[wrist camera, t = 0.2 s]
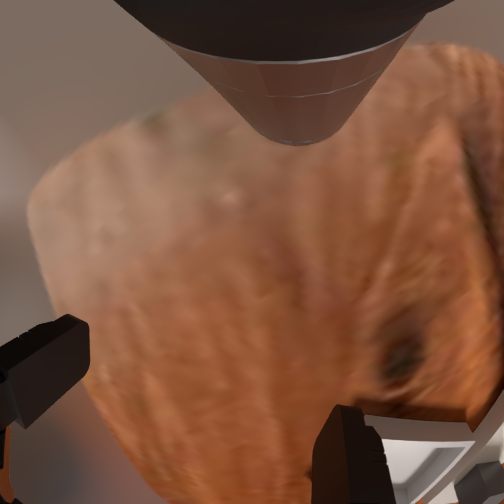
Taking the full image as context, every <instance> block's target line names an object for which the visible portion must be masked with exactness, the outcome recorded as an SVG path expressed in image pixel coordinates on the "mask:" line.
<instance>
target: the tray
mask: <svg viewBox="0 0 504 504" xmlns="http://www.w3.org/2000/svg"><path fill="white" fill-rule="evenodd" d="M364 420H365V425H368V426H373V427H374V429H375V430H376V431H377V433H378V434H379V435H380V437H381V438H382V442H383V446H384V450H385V452H384V454H386V458H387V465H388V467H389V471H390V476H391V480H392V485H393V490H394V494H395V499H396V504H415V503H416V502H417V501H418V500H419V499H421V498H422V497H423V496H424V495H425V494H426V493H427V492H428V491H429V490H430V489H432V488H433V487H434V486H435V485H436V484H437V483H438V482H439V481H440V480H441V479H442V478H443V477H444V476H445V475H446V474H447V473H448V472H449V471H450V470H451V469H452V468H453V466H454V465H455V464H456V463H457V462H458V461H459V460H460V459H461V458H462V457H463V456H464V454H465V453H466V452H467V451H468V450H469V449H470V447H471V446H472V445H473V444H474V443H475V441H476V440H475V438H474V436H473V434H472V432H471V430H470V428H469V426H468V424H467V422H437V421H421V420H409V419H399V418H389V417H381V416H373V415H366V414H365V416H364Z"/></svg>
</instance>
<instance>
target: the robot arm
mask: <svg viewBox="0 0 504 504" xmlns="http://www.w3.org/2000/svg"><path fill="white" fill-rule="evenodd" d="M114 1H115V2H116V3H118V4H119V5H120V6H121V7H122V8H123V9H124V10H126V11H127V12H128V13H129V14H131V15H132V16H133V17H134V18H135V19H137V20H138V21H139V22H140V23H142V24H143V25H144V26H145V27H146V28H148V29H149V30H150V31H152V32H153V33H154V34H156V35H157V36H158V37H159V38H160V39H161V40H163V41H164V42H165V43H166V44H167V45H168V46H169V47H170V48H172V49H173V50H174V51H175V52H176V53H177V54H178V55H179V56H181V57H182V58H183V59H184V60H185V61H186V62H187V63H188V64H189V65H190V66H191V67H192V68H194V69H195V70H196V71H197V72H198V73H199V74H200V75H201V76H202V77H203V78H204V79H205V80H206V81H207V82H209V83H210V84H211V85H212V86H213V87H214V88H215V89H216V90H217V91H218V92H219V93H220V94H221V95H222V96H223V97H224V98H225V99H226V100H227V101H228V102H229V103H230V104H231V105H232V106H233V107H234V108H235V110H236V111H237V112H238V113H239V114H240V115H241V116H242V117H243V118H244V119H245V120H246V121H247V122H248V123H249V124H250V125H251V126H252V127H253V128H254V129H255V130H256V131H257V132H259V133H260V134H261V135H263V136H265V137H266V138H268V139H270V140H272V141H275V142H278V143H281V144H286V145H293V146H301V145H310V144H314V143H318V142H321V141H323V140H325V139H327V138H329V137H331V136H332V135H333V134H334V133H336V132H337V131H338V130H339V129H340V128H341V127H342V126H343V124H344V123H345V122H346V121H347V119H348V118H349V117H350V116H351V115H352V113H353V112H354V111H355V109H356V108H357V107H358V105H359V104H360V103H361V101H362V100H363V99H364V97H365V96H366V95H367V93H368V92H369V91H370V89H371V88H372V87H373V85H374V84H375V83H376V81H377V80H378V79H379V77H380V76H381V75H382V73H383V72H384V71H385V69H386V68H387V67H388V65H389V64H390V63H391V61H392V60H393V59H394V57H395V55H396V54H397V53H398V51H399V50H400V49H401V47H402V46H403V45H404V43H405V42H406V41H407V39H408V38H409V37H410V35H411V34H412V33H413V31H414V30H415V28H416V27H417V26H418V25H419V23H420V22H421V20H422V19H423V17H424V16H425V15H426V14H427V13H428V12H431V11H433V10H436V9H438V8H440V7H443V6H445V5H447V4H449V3H450V2H452V1H454V0H114ZM89 365H90V339H89V325H88V323H87V322H85V321H83V320H81V319H78V318H76V317H74V316H72V315H70V314H66V315H64V316H62V317H60V318H58V319H57V320H55V321H51V322H47V323H42V324H39V325H37V326H35V327H33V328H32V329H30V330H28V332H25V333H23V334H21V335H20V336H19V338H18V337H16V338H14V339H13V340H11V341H9V342H7V343H6V344H4V345H2V346H1V347H0V504H23V503H21V502H20V501H19V500H18V499H16V498H15V496H14V491H13V488H12V486H11V483H10V478H9V454H10V437H11V428H10V424H11V423H12V422H13V421H16V422H17V423H18V424H19V425H21V426H22V427H23V428H24V429H27V428H28V427H29V426H30V425H31V424H32V423H33V422H34V421H35V420H36V419H37V418H39V417H40V416H41V415H42V414H43V413H44V412H45V411H46V410H47V409H48V408H50V406H52V405H53V404H54V403H55V402H56V401H57V400H58V399H59V398H61V397H62V396H63V395H64V394H65V393H66V392H67V391H68V390H69V389H70V388H72V387H73V386H74V385H75V384H76V383H77V382H78V381H79V380H81V379H82V378H83V377H84V376H85V374H86V373H87V371H88V369H89ZM384 452H385V450H384V446H383V442H382V438H381V437H380V435H379V434H378V433H377V431H376V430H375V429H374V427H373V426H368V425H365V420H364V416H363V412H362V409H361V408H357V407H350V406H345V405H339V404H337V405H336V406H335V407H334V408H333V410H332V412H331V413H330V415H329V417H328V419H327V421H326V423H325V425H324V426H323V428H322V430H321V432H320V433H319V435H318V437H317V439H316V442H315V444H314V448H313V454H312V497H311V504H396V499H395V494H394V490H393V485H392V480H391V476H390V471H389V467H388V465H387V458H386V454H384Z"/></svg>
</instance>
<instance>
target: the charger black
mask: <svg viewBox="0 0 504 504" xmlns="http://www.w3.org/2000/svg"><path fill="white" fill-rule="evenodd" d="M454 489H455V492H456V496H457V499H458V502H459V504H498V503H500V502H501V501H502V500H503V499H504V469H503V467H502V465H501V463H500V461H493V462H487V463H479V464H476V465H475V466H474V467H473V468H472V469H471V470H470V471H469V472H468V473H467V474H466V475H465V476H464V477H463V478H462V479H461V480H460V481H459V482H458V483H457V484H456V485H455V486H454Z"/></svg>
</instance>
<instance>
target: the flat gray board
mask: <svg viewBox="0 0 504 504" xmlns="http://www.w3.org/2000/svg"><path fill="white" fill-rule="evenodd" d="M472 434H473V436H474V438H475V440H476V441H475V443H474V444H473V445H472V446H471V447H470V449H469V450H468V451H467V452H466V453H465V454H464V456H463V457H462V458H461V459H460V460H459V461H458V462H457V463H456V464H455V465H454V466H453V468H452V469H451V470H450V471H449V472H448V473H447V474H446V475H445V476H444V477H443V478H442V479H441V480H440V481H439V482H438V483H437V484H436V485H435V486H434V487H433V488H432V489H430V490H429V491H428V492H427V493H426V494H425V495H424V496H423V497H422V500H423V504H448V503H454V502H458V499H457V496H456V492H455V489H454V486H455V485H456V484H457V483H458V482H459V481H460V480H461V479H462V478H463V477H464V476H465V475H466V474H467V473H468V472H469V471H470V470H471V469H472V468H473V467H474V466H475V465H476V464H479V463H487V462H493V461H500V463H501V465H502V463H503V462H504V390H503V391H502V393H501V394H500V396H499V397H498V399H497V400H496V402H495V403H494V405H493V406H492V408H491V409H490V411H489V412H488V413H487V415H486V416H485V418H484V419H483V420H482V422H481V423H480V424H479V426H478V427H477V428H476V430H475V431H474V432H473V433H472Z"/></svg>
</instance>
